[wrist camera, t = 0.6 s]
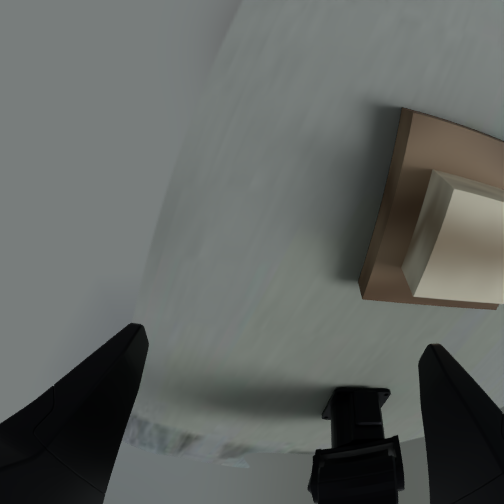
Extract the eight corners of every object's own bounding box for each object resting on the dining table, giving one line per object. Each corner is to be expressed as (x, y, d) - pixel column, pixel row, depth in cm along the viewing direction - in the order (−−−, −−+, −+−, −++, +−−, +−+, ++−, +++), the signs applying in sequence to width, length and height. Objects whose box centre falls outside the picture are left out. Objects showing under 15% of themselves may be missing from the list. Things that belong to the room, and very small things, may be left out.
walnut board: (487, 294, 23) (495, 309, 21) (358, 281, 23) (362, 299, 22) (542, 158, 16) (557, 167, 14) (402, 107, 16) (413, 112, 15)
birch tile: (487, 278, 20) (503, 304, 17) (401, 267, 20) (413, 296, 18) (521, 195, 16) (545, 216, 13) (432, 169, 16) (454, 188, 14)
